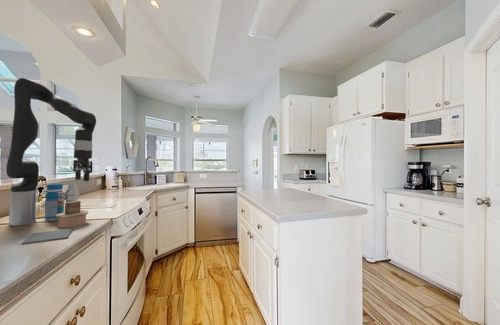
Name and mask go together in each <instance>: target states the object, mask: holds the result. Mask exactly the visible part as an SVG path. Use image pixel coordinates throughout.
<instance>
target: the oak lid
mask: <svg viewBox="0 0 500 325" xmlns="http://www.w3.org/2000/svg"><path fill="white" fill-rule="evenodd" d="M81 203H82V202H81V200H78V201H72V202H67V203H66V202H64V212H63V213H59V214H57V215H56V217H58V218H71V217H78V216H83V215H86V216H87V215H88V214H89V211H88V210H81Z"/></svg>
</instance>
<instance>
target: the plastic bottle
mask: <svg viewBox="0 0 500 325" xmlns="http://www.w3.org/2000/svg"><path fill="white" fill-rule="evenodd" d="M67 186H68V187H67V189H66V190H65V192H64V199H65V203H67V202H72V201H79V198H80V197H79V196H80V190H78V189H77V183H68V185H67Z"/></svg>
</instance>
